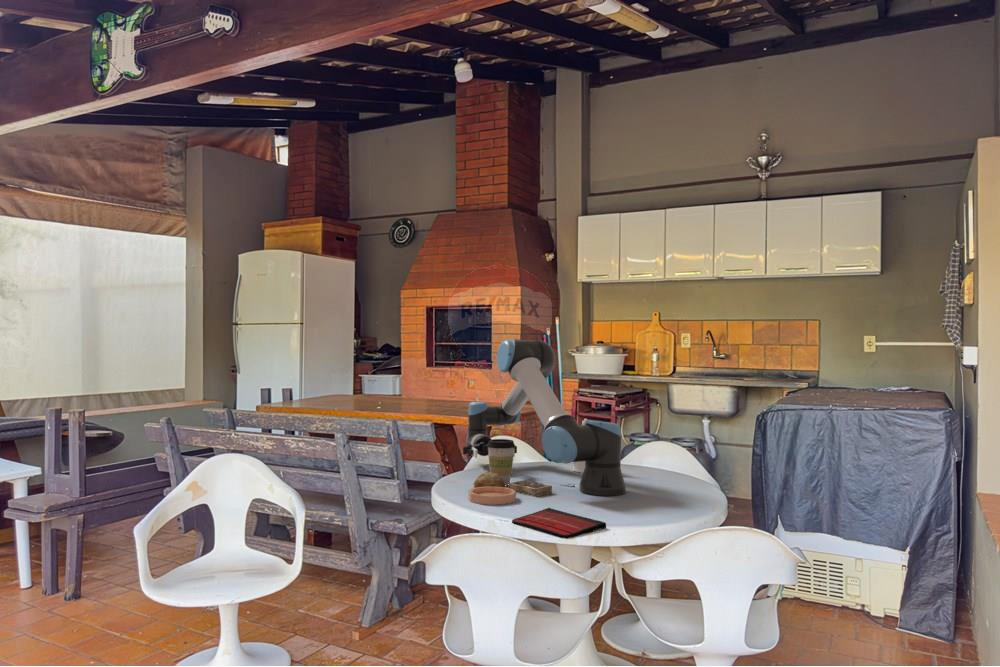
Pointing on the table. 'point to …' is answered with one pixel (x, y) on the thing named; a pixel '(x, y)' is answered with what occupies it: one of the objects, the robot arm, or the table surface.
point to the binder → (559, 523)
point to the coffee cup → (501, 458)
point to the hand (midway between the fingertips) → (495, 453)
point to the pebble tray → (530, 487)
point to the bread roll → (489, 480)
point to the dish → (492, 495)
